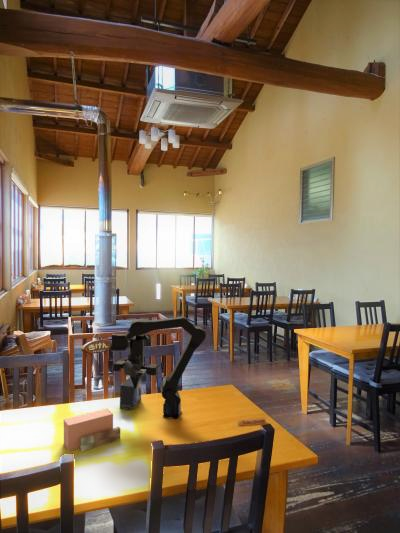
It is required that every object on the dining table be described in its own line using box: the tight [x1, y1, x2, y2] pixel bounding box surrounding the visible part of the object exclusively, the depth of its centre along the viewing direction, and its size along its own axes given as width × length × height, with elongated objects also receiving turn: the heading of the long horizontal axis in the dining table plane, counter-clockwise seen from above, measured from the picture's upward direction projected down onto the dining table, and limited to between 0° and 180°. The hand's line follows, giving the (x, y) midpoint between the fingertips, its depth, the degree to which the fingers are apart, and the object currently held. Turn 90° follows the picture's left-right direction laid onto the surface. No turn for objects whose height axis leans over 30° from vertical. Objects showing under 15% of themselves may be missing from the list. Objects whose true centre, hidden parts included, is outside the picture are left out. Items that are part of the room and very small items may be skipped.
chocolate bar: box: [236, 417, 267, 427], centre depth 147 cm, size 3×12×2 cm, turn 104°
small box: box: [119, 376, 142, 411], centre depth 162 cm, size 11×6×10 cm, turn 168°
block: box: [63, 408, 114, 452], centre depth 131 cm, size 16×6×9 cm, turn 126°
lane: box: [79, 426, 121, 452], centre depth 133 cm, size 14×12×4 cm
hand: (135, 388), depth 150 cm, fingers closed
